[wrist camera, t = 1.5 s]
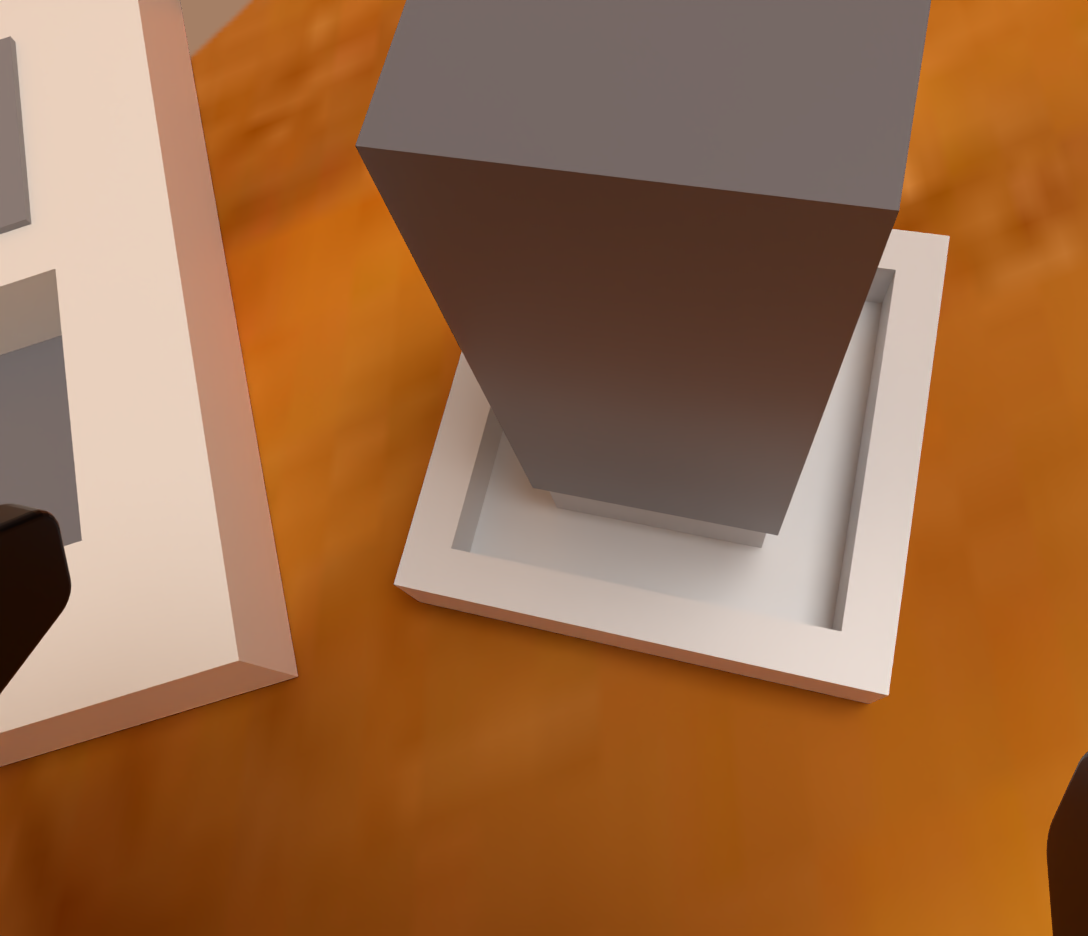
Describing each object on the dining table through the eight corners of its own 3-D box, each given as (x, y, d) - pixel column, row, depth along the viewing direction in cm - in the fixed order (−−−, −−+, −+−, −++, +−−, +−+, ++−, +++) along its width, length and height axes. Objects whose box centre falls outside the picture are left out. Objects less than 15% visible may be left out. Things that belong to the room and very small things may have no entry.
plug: (769, 558, 20) (898, 211, 8) (546, 514, 21) (355, 146, 9) (805, 350, 21) (963, -218, 9) (595, 319, 22) (488, -231, 10)
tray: (868, 703, 19) (888, 695, 17) (419, 601, 21) (393, 584, 19) (927, 282, 22) (949, 235, 20) (524, 228, 24) (511, 182, 22)
